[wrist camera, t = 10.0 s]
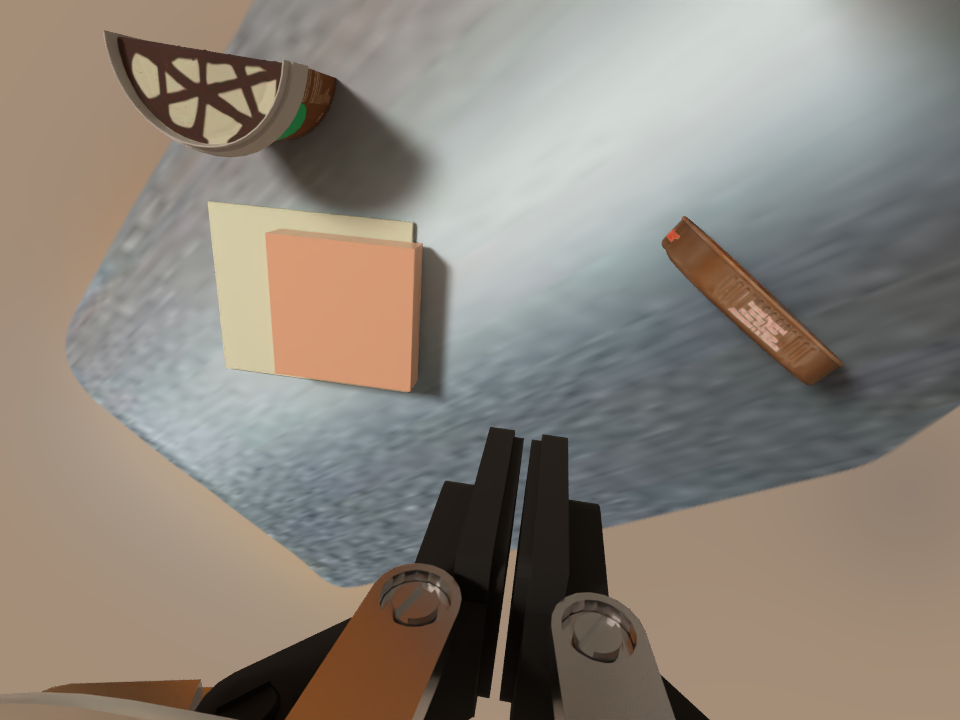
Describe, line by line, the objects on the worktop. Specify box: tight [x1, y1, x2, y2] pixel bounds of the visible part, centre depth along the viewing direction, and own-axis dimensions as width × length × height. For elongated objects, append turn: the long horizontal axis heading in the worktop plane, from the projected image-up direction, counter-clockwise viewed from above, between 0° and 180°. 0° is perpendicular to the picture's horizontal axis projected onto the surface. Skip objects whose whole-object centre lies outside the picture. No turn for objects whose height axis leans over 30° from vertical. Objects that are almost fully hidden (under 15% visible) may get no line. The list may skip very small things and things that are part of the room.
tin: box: [662, 216, 844, 385], centre depth 37 cm, size 15×3×8 cm, turn 50°
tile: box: [265, 229, 423, 392], centre depth 45 cm, size 3×12×12 cm
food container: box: [103, 30, 336, 157], centre depth 37 cm, size 12×6×10 cm, turn 81°
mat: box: [208, 202, 414, 392], centre depth 47 cm, size 18×15×1 cm
